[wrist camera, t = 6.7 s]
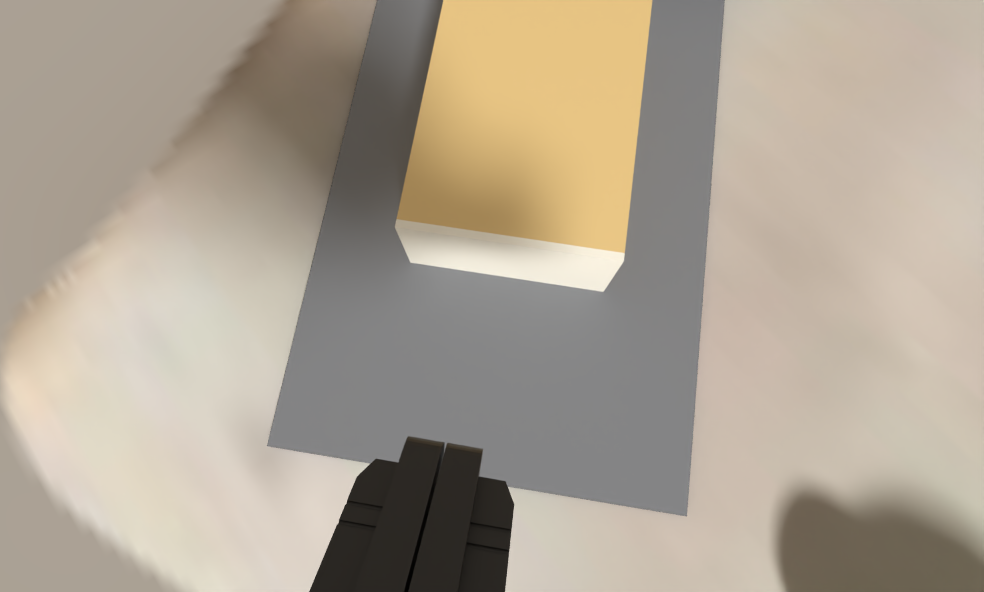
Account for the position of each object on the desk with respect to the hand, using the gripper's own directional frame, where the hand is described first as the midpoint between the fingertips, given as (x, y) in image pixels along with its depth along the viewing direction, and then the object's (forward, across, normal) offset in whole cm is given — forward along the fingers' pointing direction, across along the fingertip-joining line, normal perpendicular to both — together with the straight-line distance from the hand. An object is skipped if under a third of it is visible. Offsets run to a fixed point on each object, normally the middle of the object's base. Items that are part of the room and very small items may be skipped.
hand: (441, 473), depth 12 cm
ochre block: (+12, 0, +1) cm, 12 cm away
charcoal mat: (+16, 0, 0) cm, 16 cm away
